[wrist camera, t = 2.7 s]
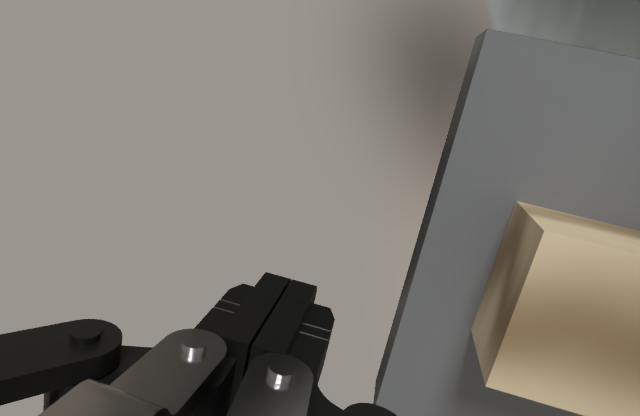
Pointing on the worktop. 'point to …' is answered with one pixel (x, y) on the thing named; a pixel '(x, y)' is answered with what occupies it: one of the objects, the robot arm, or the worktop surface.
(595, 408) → the maple block
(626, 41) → the worktop surface
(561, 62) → the trap deck
